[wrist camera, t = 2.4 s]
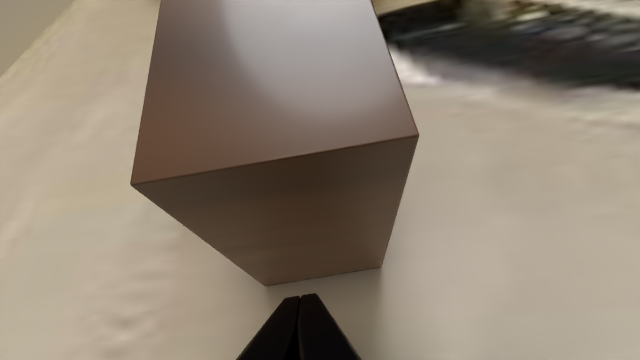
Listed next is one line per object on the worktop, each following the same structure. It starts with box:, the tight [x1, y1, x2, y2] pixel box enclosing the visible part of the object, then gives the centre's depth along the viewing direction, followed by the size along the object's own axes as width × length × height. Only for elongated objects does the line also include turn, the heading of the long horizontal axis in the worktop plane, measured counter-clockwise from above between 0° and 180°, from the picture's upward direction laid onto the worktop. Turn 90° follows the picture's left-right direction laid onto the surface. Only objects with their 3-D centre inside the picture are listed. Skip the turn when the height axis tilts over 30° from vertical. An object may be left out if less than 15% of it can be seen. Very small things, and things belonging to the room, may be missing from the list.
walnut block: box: [130, 0, 419, 286], centre depth 15 cm, size 8×7×13 cm
